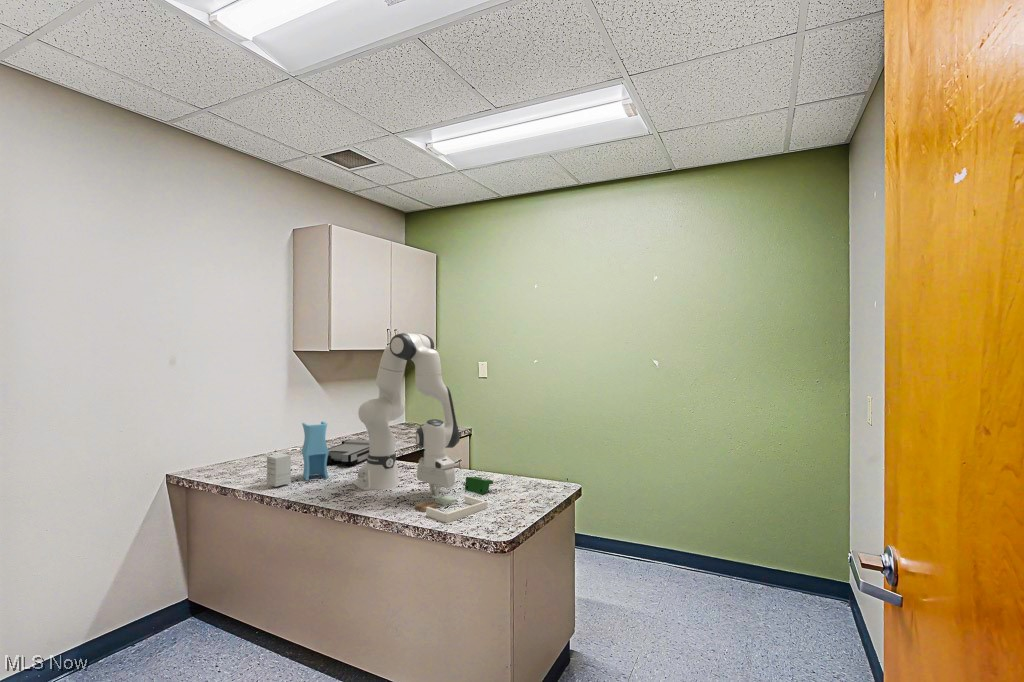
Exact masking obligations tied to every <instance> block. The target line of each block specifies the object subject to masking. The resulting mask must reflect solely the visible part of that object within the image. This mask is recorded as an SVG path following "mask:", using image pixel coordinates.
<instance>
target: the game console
mask: <svg viewBox="0 0 1024 682" xmlns="http://www.w3.org/2000/svg"><path fill="white" fill-rule="evenodd" d="M327 448H328V447H327ZM328 451H329V454H328V458H327V466H333V465H335V464H338V463H339V462H341V465H343V466H345V467H356V466H357V465H360V464H362V463H365V462H367V458H368V457H367V456H368V455H369V439H346V440H341V443H340V444H337V445H335V446H331V447H329V448H328ZM366 455H367V456H366ZM366 457H367V458H366Z"/></svg>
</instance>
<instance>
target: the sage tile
mask: <svg viewBox="0 0 1024 682" xmlns="http://www.w3.org/2000/svg"><path fill="white" fill-rule="evenodd" d="M457 502H458V498H455V497H453V496H451V495H445V496H440V497H436V498H435V503H436V504H440V505H442V506H448V505H451V504H453V503H457Z"/></svg>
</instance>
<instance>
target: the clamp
mask: <svg viewBox="0 0 1024 682" xmlns="http://www.w3.org/2000/svg"><path fill="white" fill-rule="evenodd" d="M490 485H494V480H492V479H484V478H482V477H477V476H466V477H465V484H464V490H465V491H466V492H471V493H473V494H474V493H475V494H478V495H486V494H487V492H488V491H489V490H490Z"/></svg>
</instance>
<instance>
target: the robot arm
mask: <svg viewBox="0 0 1024 682" xmlns="http://www.w3.org/2000/svg"><path fill="white" fill-rule="evenodd" d="M407 361H408V362H410V361H412V362H413V363H414V369H415V370H414V373H415V374H414V379H415V381H414V382H415V387H416V390H417V391H418V392H419V393H420V394H422V395H424V396H427V397H429V398H432V399H434V400H436V401H438V402H439V403H440V404H441V406H442V409H443V415H444V416H443V417H444V420H445V422H444V421H443V420H441V419H433V418H432V419H429V420H426V421H425V424H424V425H422V426H420V427H418V429H416V432H415V444H416V446H418V447H419V448H420V449H424V451H423V457H420V459H418V464H417V469H416V479H417V480H418V481H421V482H423V483H424V482H425V483H428V485H429V490H430V495H432V496H436V497H437V496H440V490H441V488H444V489H451V488H453V487H454V486H455V484H456V483H455V480H456V476H455V475H456V474H455V473H456V471H455V469H454V468H455V465H456V463H455V461H454V460H452V459H451V458H450V457H449V456H448V455H447V450H446V449H453V448H454V447H456V446H457V445H458V444H459V442H460V440H461V437H460V435H461V434H460V430H459V426H458V422H457V419H456V418H457V417H456V412H455V407H454V402H453V397H452V393H451V390H450V387H448V386H447V385H445V383H444V381H443V377H442V374H443V373H442V365H441V364H442V363H441V358H440V354H439V352H438V351H437V350H435V342H434V339H432V337H430V336H429V335H426V334H424V333H422V334H420V333H416V332H412V333H411V332H410V333H408V332H407V333H405V332H401V333H398V334H395V335H393V337H392V338H390V341H389V344H388V345H386V346H385V349H384V351H383V354H382V355H381V358H380V361H379V366H378V370H377V373H376V374H377V375H376V379H375V384H376V386H377V387H378V391H379V393H378V398H373V399H369V400H367V401H365V402H362V404H360V406H359V408H358V412H357V414H358V419H359V420H360V422H362V423H363V424H364V425H365V428H366V431H367V435H368V440H369V455H368V456H367V455H366V456H367V457H368V458H367V457H366V458H367V461H366V463H365V464H364V465H363V466H362V467H360V468H359V469H358V473H357V478H356V479H354V480H352V484H353V485H355V486H356V487H358V488H359V489H360V490H363V491H375V490H376V491H383V490H384V491H385V490H389V489H393V488H396V487H397V486H399V483H400V482H401V479H400V478H399V467H398V463H396V462H397V452H396V436H395V433H393V432H392V431H391V428H390V424H389V422H392V421H395V420H397V419H399V418H400V417H401V416H403V414H404V413H405V409H406V407H405V402H404V401H403V399H402V395H401V394H402V389H401V388H402V382H403V379H404V374H405V371H406V365H407V363H408V362H407Z"/></svg>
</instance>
